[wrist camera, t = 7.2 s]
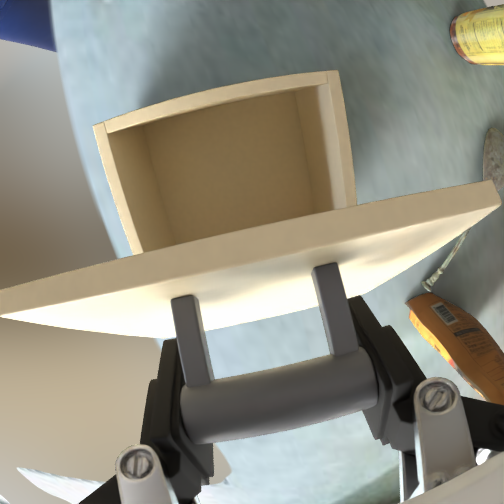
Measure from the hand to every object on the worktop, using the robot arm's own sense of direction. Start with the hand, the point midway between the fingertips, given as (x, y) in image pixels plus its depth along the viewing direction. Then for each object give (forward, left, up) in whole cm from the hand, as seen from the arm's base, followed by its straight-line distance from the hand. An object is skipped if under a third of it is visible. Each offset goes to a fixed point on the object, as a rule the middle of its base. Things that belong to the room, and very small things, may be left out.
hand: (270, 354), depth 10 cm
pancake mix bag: (+24, -21, -20) cm, 38 cm away
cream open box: (0, +2, -20) cm, 20 cm away
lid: (0, 0, -4) cm, 4 cm away
